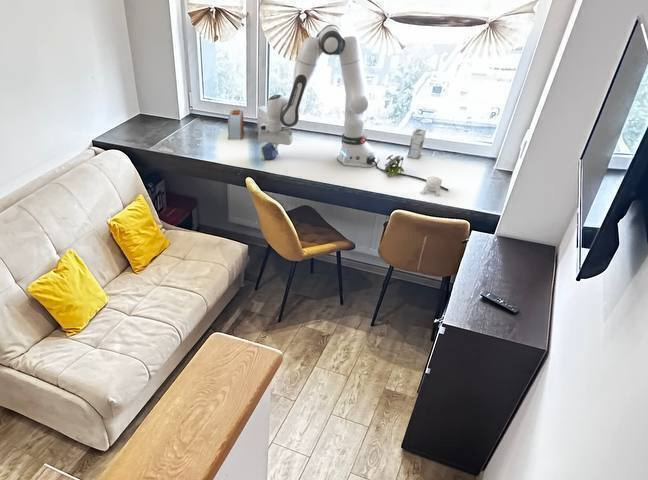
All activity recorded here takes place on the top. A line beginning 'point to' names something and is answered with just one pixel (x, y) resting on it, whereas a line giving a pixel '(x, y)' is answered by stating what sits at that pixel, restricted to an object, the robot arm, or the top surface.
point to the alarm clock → (235, 124)
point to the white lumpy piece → (433, 184)
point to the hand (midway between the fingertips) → (275, 150)
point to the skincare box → (261, 116)
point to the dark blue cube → (268, 151)
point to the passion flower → (394, 168)
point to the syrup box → (416, 143)
